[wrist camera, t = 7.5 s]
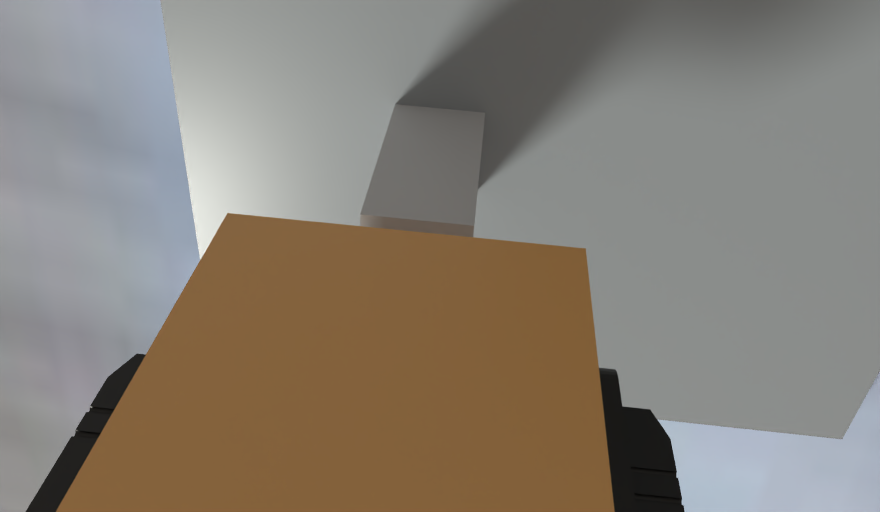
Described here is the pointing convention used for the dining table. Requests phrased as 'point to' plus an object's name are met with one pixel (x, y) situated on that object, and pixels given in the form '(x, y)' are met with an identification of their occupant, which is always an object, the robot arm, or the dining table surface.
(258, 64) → the board
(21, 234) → the dining table surface
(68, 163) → the dining table surface
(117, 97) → the dining table surface
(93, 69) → the dining table surface
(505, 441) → the tan wooden cube
